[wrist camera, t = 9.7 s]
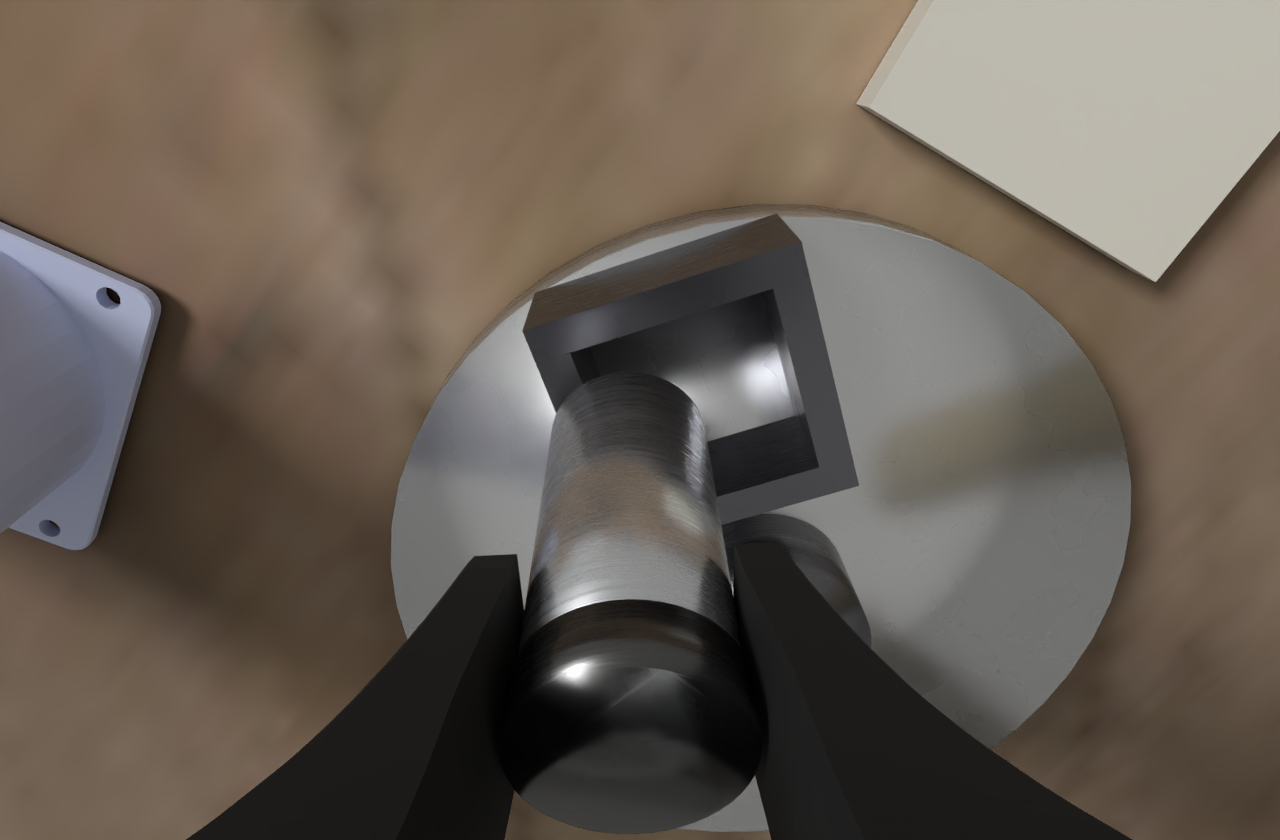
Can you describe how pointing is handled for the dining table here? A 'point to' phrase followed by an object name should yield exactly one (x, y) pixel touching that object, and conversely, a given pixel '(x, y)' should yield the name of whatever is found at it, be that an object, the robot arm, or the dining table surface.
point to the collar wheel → (815, 441)
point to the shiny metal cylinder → (629, 623)
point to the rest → (1092, 108)
